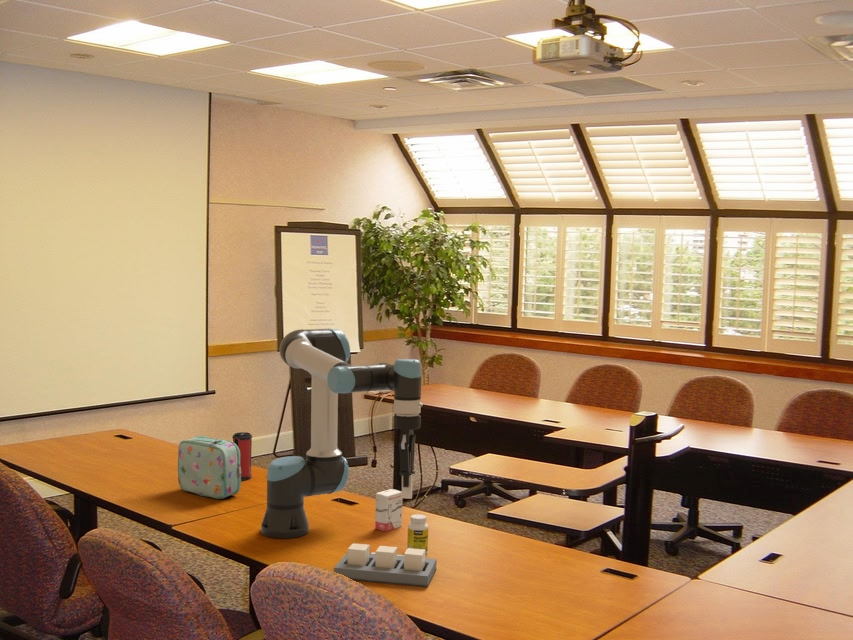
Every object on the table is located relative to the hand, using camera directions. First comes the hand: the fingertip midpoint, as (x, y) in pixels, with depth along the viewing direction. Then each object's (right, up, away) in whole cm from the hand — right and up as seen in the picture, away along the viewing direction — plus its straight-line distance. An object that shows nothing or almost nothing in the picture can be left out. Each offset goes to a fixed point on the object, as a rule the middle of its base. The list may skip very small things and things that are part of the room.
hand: (406, 497), depth 240 cm
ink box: (-7, -18, +41) cm, 45 cm away
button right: (+2, -19, -4) cm, 19 cm away
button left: (-13, -18, -1) cm, 23 cm away
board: (-6, -21, -2) cm, 22 cm away
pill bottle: (+3, -20, +16) cm, 26 cm away
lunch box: (-75, -15, +76) cm, 108 cm away
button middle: (-6, -18, -3) cm, 19 cm away
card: (-6, -20, +10) cm, 23 cm away
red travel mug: (-68, -13, +100) cm, 122 cm away
